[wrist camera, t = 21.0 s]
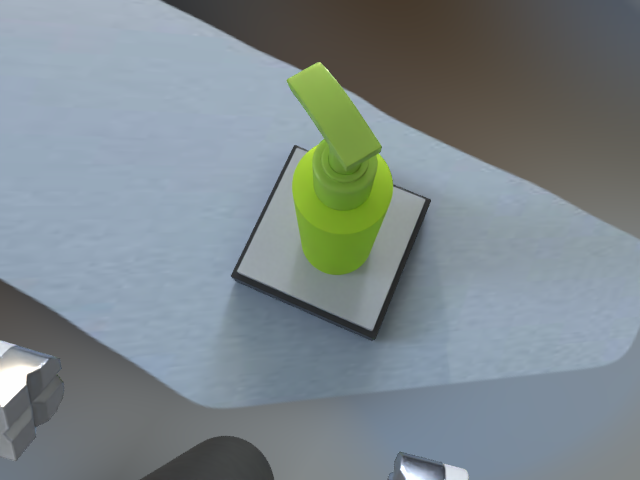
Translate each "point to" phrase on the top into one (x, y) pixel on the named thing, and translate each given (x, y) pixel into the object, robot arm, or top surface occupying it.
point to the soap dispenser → (338, 178)
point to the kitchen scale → (316, 286)
